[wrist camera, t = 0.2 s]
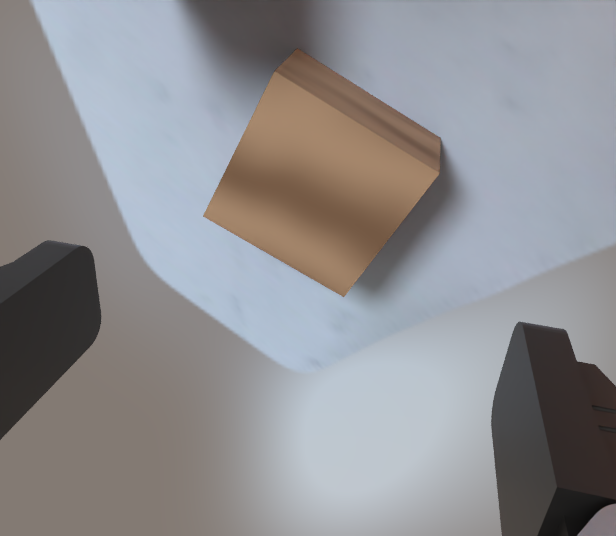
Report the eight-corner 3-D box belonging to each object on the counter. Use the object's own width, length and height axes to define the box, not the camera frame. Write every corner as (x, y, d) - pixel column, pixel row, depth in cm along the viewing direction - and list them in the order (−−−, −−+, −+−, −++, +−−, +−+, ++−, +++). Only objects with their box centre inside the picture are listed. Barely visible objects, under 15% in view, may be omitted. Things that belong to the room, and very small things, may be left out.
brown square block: (298, 47, 29) (274, 71, 25) (440, 136, 30) (439, 173, 26) (231, 178, 34) (203, 216, 30) (355, 251, 35) (343, 297, 31)
